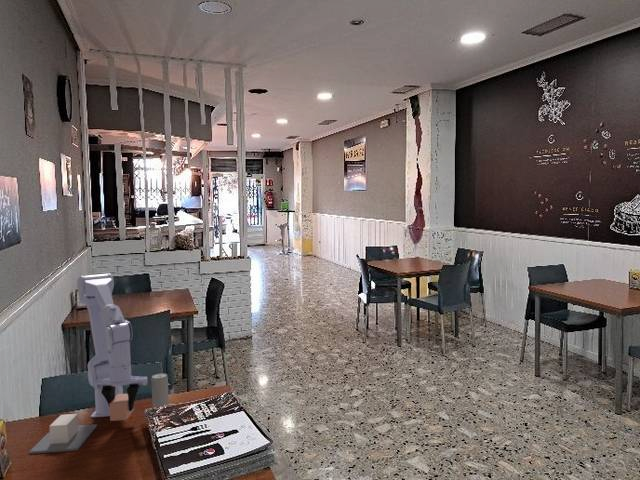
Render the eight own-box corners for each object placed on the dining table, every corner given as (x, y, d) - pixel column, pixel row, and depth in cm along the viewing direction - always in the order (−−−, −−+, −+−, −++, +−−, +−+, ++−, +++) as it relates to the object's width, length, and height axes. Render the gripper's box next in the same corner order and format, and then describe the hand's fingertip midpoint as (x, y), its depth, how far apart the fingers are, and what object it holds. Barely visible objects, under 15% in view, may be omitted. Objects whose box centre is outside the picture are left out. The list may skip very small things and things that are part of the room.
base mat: (53, 429, 135) (53, 427, 135) (96, 426, 136) (96, 424, 136) (29, 453, 121) (29, 451, 121) (77, 450, 122) (77, 448, 122)
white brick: (62, 431, 132) (61, 414, 131) (78, 430, 132) (77, 413, 132) (50, 444, 125) (49, 426, 124) (68, 442, 125) (67, 424, 125)
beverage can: (163, 417, 141) (162, 378, 140) (149, 416, 142) (148, 378, 141) (172, 410, 146) (170, 373, 145) (158, 409, 147) (156, 372, 146)
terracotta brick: (118, 410, 138) (117, 394, 138) (133, 409, 139) (133, 393, 138) (110, 420, 131) (109, 403, 131) (126, 419, 132) (126, 402, 131)
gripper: (88, 370, 129) (90, 417, 130) (142, 367, 131) (144, 414, 132) (97, 362, 136) (99, 407, 137) (148, 359, 138) (150, 404, 139)
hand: (122, 410), depth 135 cm, fingers closed on terracotta brick, 4 cm apart
